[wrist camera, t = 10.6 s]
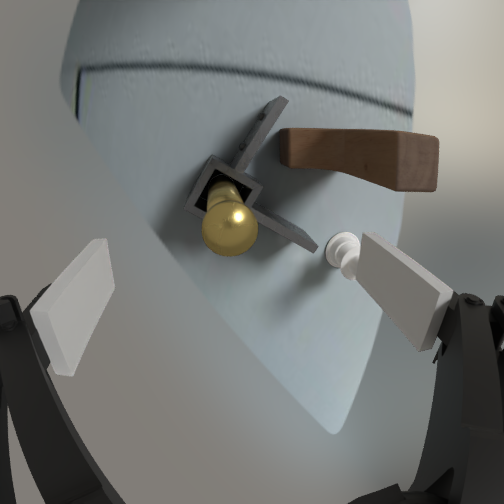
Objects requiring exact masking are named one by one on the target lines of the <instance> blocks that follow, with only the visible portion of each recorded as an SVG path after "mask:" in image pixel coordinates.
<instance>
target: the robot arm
mask: <svg viewBox="0 0 504 504" xmlns="http://www.w3.org/2000/svg"><path fill="white" fill-rule="evenodd" d="M355 279H356V280H357V281H358V282H359V284H360V285H361V286H362V287H363V288H364V289H365V290H366V291H367V292H368V294H369V295H370V296H371V297H372V298H373V299H374V300H375V301H376V303H377V304H378V305H379V306H380V307H381V308H382V309H383V311H384V312H385V313H386V314H387V315H388V316H389V317H390V319H392V321H393V322H394V323H395V324H396V326H397V327H398V328H399V329H400V330H401V331H402V333H403V334H404V335H405V336H406V337H407V339H409V341H410V342H411V343H412V344H413V345H414V347H415V348H416V349H417V350H418V352H421V351H425V350H428V349H432V347H433V345H434V343H435V340H436V338H437V336H438V337H439V339H440V340H441V341H442V342H441V344H440V347H439V349H438V351H437V354H436V356H435V358H434V360H433V363H435V361H436V360H438V362H437V372H436V381H435V389H434V396H433V402H432V408H431V414H430V420H429V425H428V430H427V435H426V439H425V444H424V448H423V452H422V457H421V460H420V464H419V468H418V471H417V474H416V477H415V480H414V482H413V484H412V485H411V487H410V489H409V490H408V491H401V490H400V488H399V486H398V484H394V485H392V486H389V487H387V488H384V489H381V490H379V491H376V492H373V493H370V494H367V495H364V496H361V497H358V498H357V499H355V500H353V501H351V502H350V503H348V504H504V349H503V350H502V349H501V345H502V343H503V341H504V296H499V295H498V296H496V297H495V300H494V302H493V305H492V306H485V303H484V301H483V300H482V299H480V298H479V297H477V296H475V295H472V294H467V293H465V294H464V293H463V294H460V295H458V294H457V293H456V292H454V291H453V290H452V289H451V288H450V287H448V286H447V285H446V284H445V283H443V282H442V281H441V280H439V279H438V278H437V277H435V276H434V275H433V274H432V273H430V272H429V271H428V270H426V269H425V268H424V267H422V266H421V265H420V264H418V263H417V262H416V261H414V260H413V259H411V258H410V257H409V256H407V255H406V254H404V253H403V252H402V251H400V250H399V249H398V248H396V247H395V246H393V245H392V244H391V243H389V242H388V241H386V240H385V239H383V238H382V237H381V236H379V235H378V234H376V233H375V232H363V235H362V241H361V248H360V254H359V260H358V266H357V272H356V277H355ZM114 290H115V284H114V279H113V273H112V268H111V262H110V256H109V249H108V243H107V239H93V240H92V241H91V242H90V243H89V244H88V245H87V246H86V247H85V248H84V249H83V250H82V252H81V253H80V254H79V255H78V256H77V257H76V258H75V259H74V260H73V261H72V262H71V263H70V264H69V266H68V267H67V268H66V269H65V270H64V271H63V272H62V273H61V274H60V275H59V277H58V278H57V279H56V280H55V281H54V282H53V283H52V284H49V285H48V286H46V287H45V288H43V289H42V290H41V291H40V293H38V295H37V297H35V298H34V299H33V300H32V302H31V303H30V304H29V306H27V308H26V309H25V310H24V311H23V313H22V311H21V308H20V305H19V302H18V299H17V298H16V296H13V295H5V296H1V297H0V504H16V499H15V493H14V488H13V481H12V475H11V466H10V457H9V443H8V419H7V418H8V416H7V406H8V407H9V411H10V414H11V417H12V421H13V424H14V427H15V431H16V434H17V437H18V440H19V443H20V446H21V448H22V451H23V454H24V456H25V459H26V461H27V464H28V467H29V469H30V471H31V474H32V476H33V478H34V480H35V483H36V485H37V487H38V489H39V491H40V493H41V495H42V497H43V499H44V501H45V504H126V503H125V502H124V501H123V499H122V498H121V497H120V496H119V494H118V493H117V492H116V490H115V489H114V488H113V486H112V485H111V484H110V482H109V481H108V479H107V478H106V477H105V475H104V474H103V472H102V471H101V469H100V468H99V466H98V465H97V463H96V462H95V461H94V459H93V457H92V456H91V454H90V453H89V451H88V449H87V448H86V446H85V444H84V443H83V441H82V439H81V438H80V436H79V434H78V432H77V431H76V429H75V427H74V425H73V423H72V421H71V420H70V418H69V416H68V414H67V412H66V410H65V408H64V406H63V404H62V402H61V400H60V398H59V396H58V394H57V391H56V389H55V387H54V385H53V383H52V380H51V378H50V376H49V374H48V372H47V368H48V366H49V364H50V363H51V365H52V367H53V369H54V371H55V373H56V374H58V375H65V376H73V375H74V373H75V370H76V368H77V365H78V363H79V361H80V359H81V356H82V354H83V352H84V350H85V348H86V346H87V344H88V341H89V339H90V337H91V335H92V333H93V331H94V328H95V327H96V325H97V322H98V321H99V319H100V317H101V314H102V313H103V311H104V309H105V307H106V305H107V303H108V301H109V299H110V297H111V295H112V293H113V291H114Z"/></svg>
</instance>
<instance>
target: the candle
mask: <svg viewBox="0 0 504 504" xmlns="http://www.w3.org/2000/svg"><path fill="white" fill-rule="evenodd" d="M360 248H361V246H360V243H359V240H358V238H357V237H356V236H355V235H354V234H352V233H349V232H342V233H339V234H337V235H335V236H334V237H333V238H332V239H331V240H330V241H329V243H328V244H327V247H326V258H327V261H328V262H329V263H330V264H331V265H332V266H334V267H338V268H341V272H342V274H343V276H344V277H345V278H347V279H349V280H356V279H355V277H356V272H357V266H358V260H359V254H360Z"/></svg>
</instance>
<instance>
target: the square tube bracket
mask: <svg viewBox="0 0 504 504" xmlns="http://www.w3.org/2000/svg"><path fill="white" fill-rule="evenodd" d="M288 102H289V101H288V100H287V99H285V98H284V97H282V96H279V97H277V98H275V99H274V100H272V101H270V102H269V103H268V105H267V106H266V108H265V109H264V111H263V112H262V113H260V114H259V115H258V120H257V122H256V123H255V125H254V127H253V128H252V130H251V131H250V133H249V135H248V136H247V138H246V139H245V141H244V143H242V144H240V146H239V151H238V152H237V154H236V156H235V157H234V159H233V161H232V162H231V164H229V163H227V162H225V161H224V160H222V159H220V158H218V157H216V156H214V155H213V154H212V155H211V157H210V159H209V160H208V162H207V164H206V166H205V167H204V169H203V171H202V173H201V174H200V176H199V178H198V180H197V181H196V183H195V185H194V187H193V189H192V190H191V192H190V194H189V196H188V198H187V200H186V203H185V206H184V210H186V211H188V212H190V213H192V214H194V215H195V216H197V217H199V218H201V219H203V218H204V216H205V214H206V212H207V200H205V199H204V198H202V197H200V194H201V192H202V190H203V189H204V187H205V185H206V183H207V182H208V180H209V178H210V176H211V175H212V173H213V171H214V170H215V169H217V170H219V171H221V172H223V173H224V174H226V175H228V176H230V177H232V178H233V179H235V180H237V181H239V182H241V183H242V184H244V185H243V187H242V189H241V190H240V192H239V195H240V197H241V199H242V201H243V203H244V204H245V205H246V206H248V207H249V208H250V209H251V211H252V212H253V214H254V216H255V218H256V220H257V222H259V223H260V224H262V225H264V226H266V227H268V228H269V229H271V230H273V231H275V232H277V233H278V234H280V235H282V236H284V237H285V238H287V239H289V240H291V241H293V242H294V243H296V244H298V245H300V246H301V247H303V248H305V249H307V250H308V251H310V252H312V253H314V252H315V251H316V249H317V248H318V245H317V244H316V243H315V242H314V241H313V240H312V239H311V238H310V236H309V235H308V234H307V233H306V232H305V231H304V230H303V229H301V228H299V227H298V226H296V225H294V224H292V223H291V222H289V221H287V220H286V219H284V218H282V217H281V216H279V215H277V214H275V213H274V212H272V211H270V210H268V209H267V208H265V207H263V206H261V205H260V204H258V203H256V202H255V200H256V198H257V197H258V195H259V193H260V192H261V190H262V189H263V186H262V185H261V184H260V183H259V182H258V181H257V180H256V179H255V178H253V177H252V176H250V175H248V174H246V173H245V172H244V171H245V170H246V168H247V167H248V165H249V163H250V162H251V160H252V158H253V157H254V155H255V154H256V152H257V150H258V149H259V147H260V145H261V144H262V142H263V141H264V139H265V137H266V136H267V134H268V133H269V131H270V130H271V128H272V126H273V125H274V123H275V122H276V120H277V119H278V117H279V116H280V114H281V112H282V111H283V109H284V108H285V106H286V105H287V103H288Z"/></svg>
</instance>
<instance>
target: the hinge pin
mask: <svg viewBox="0 0 504 504" xmlns="http://www.w3.org/2000/svg"><path fill="white" fill-rule="evenodd" d="M257 235H258V223H257V220H256V218H255V216H254V214H253V212H252V211H251V209H250V208H249V207H248V206H246V205H245V204H244V203H243V201H242V199H241V197H240V195H239V192H238V190H237V188H236V186H235V184H234V182H233V180H232V179H231V178H230V177H228V176H226V175H217V176H215V177H213V178H212V179H211V181H210V182H209V185H208V201H207V212H206V214H205V216H204V218H203V222H202V236H203V240H204V242H205V244H206V245H207V246H208V248H209V249H210V250H212V251H213V252H215V253H216V254H219V255H222V256H237V255H240V254H242V253H244V252H246V251H247V250H248V249H250V247H251V246H252V245H253V244H254V242H255V240H256V238H257Z"/></svg>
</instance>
